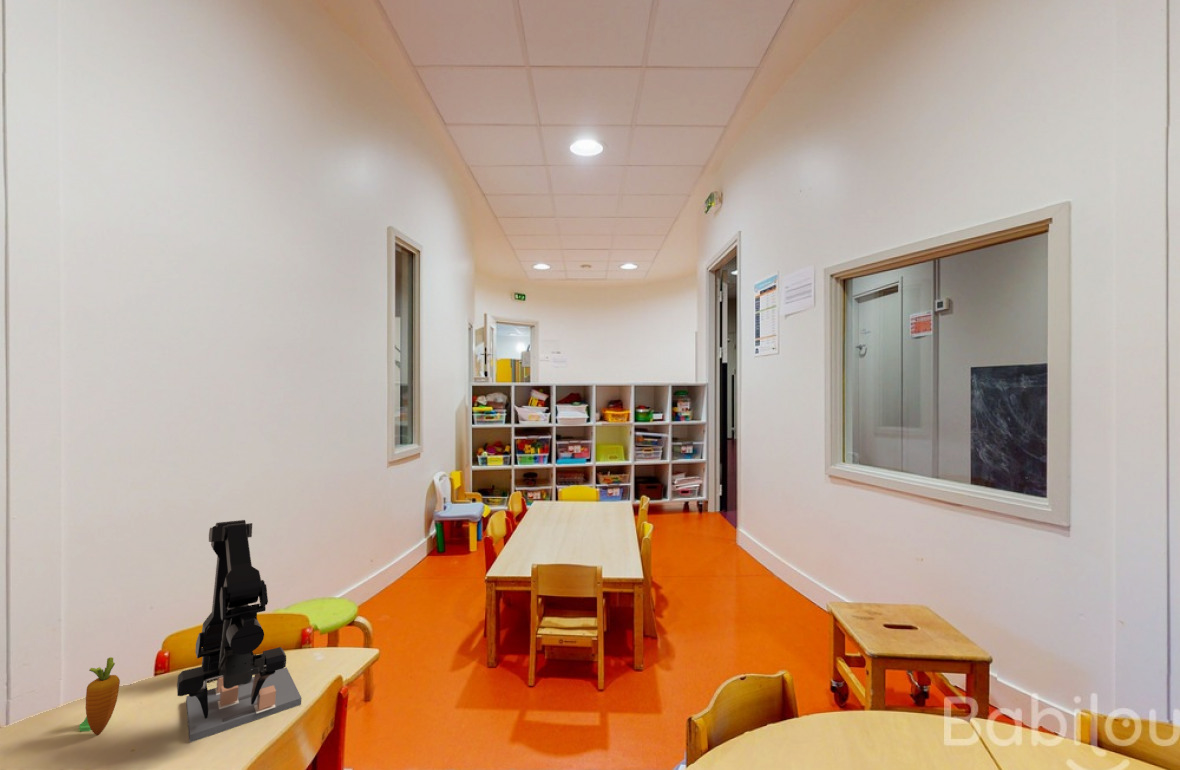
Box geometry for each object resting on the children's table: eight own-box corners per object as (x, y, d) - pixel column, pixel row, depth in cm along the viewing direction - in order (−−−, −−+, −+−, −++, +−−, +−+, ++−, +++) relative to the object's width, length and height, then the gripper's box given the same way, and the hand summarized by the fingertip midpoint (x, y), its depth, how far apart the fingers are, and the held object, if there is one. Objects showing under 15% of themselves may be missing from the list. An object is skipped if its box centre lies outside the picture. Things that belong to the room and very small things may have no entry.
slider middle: (219, 699, 106) (220, 686, 106) (235, 694, 108) (237, 681, 108) (220, 705, 104) (222, 692, 104) (237, 700, 106) (238, 687, 106)
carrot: (91, 745, 93) (100, 668, 94) (73, 740, 94) (82, 664, 95) (121, 729, 98) (129, 656, 99) (103, 725, 99) (111, 653, 100)
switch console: (185, 702, 108) (186, 695, 108) (286, 673, 121) (286, 666, 121) (189, 743, 95) (190, 735, 95) (301, 705, 108) (301, 697, 108)
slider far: (216, 686, 111) (217, 673, 111) (232, 681, 113) (233, 669, 113) (217, 692, 109) (219, 678, 109) (233, 687, 111) (234, 674, 111)
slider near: (256, 703, 105) (258, 689, 105) (272, 698, 107) (273, 685, 107) (258, 709, 103) (260, 695, 103) (274, 704, 105) (276, 690, 105)
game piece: (103, 727, 98) (106, 698, 99) (74, 734, 96) (78, 704, 97) (110, 716, 102) (113, 688, 103) (83, 722, 100) (86, 693, 100)
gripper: (183, 664, 90) (173, 749, 88) (294, 638, 102) (286, 711, 101) (181, 643, 98) (172, 720, 97) (284, 621, 111) (277, 689, 109)
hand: (229, 710), depth 101 cm, fingers open, 8 cm apart
